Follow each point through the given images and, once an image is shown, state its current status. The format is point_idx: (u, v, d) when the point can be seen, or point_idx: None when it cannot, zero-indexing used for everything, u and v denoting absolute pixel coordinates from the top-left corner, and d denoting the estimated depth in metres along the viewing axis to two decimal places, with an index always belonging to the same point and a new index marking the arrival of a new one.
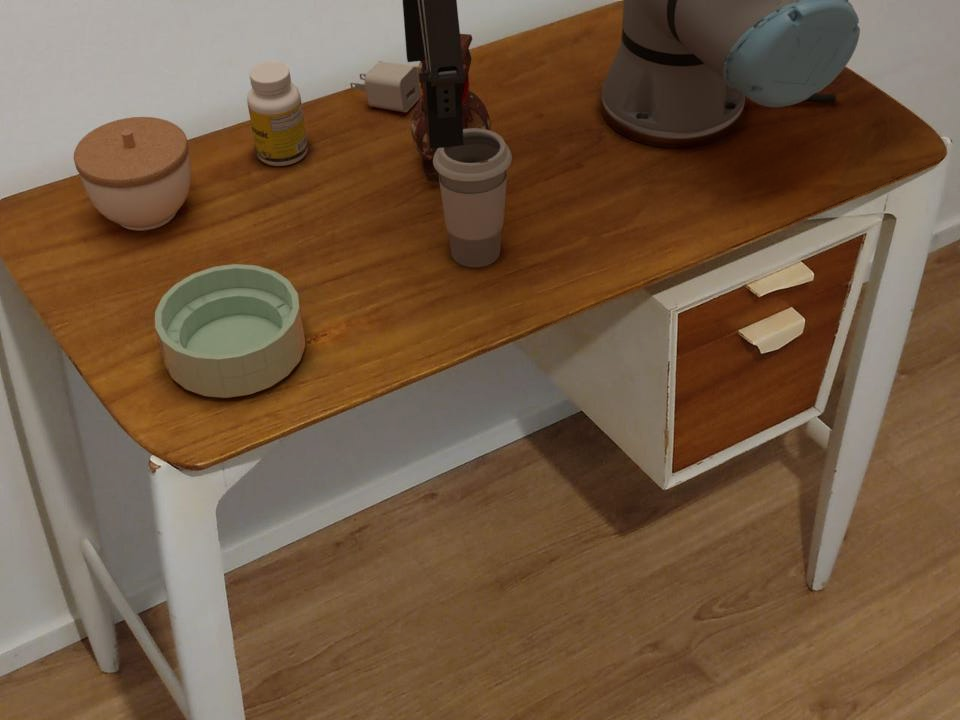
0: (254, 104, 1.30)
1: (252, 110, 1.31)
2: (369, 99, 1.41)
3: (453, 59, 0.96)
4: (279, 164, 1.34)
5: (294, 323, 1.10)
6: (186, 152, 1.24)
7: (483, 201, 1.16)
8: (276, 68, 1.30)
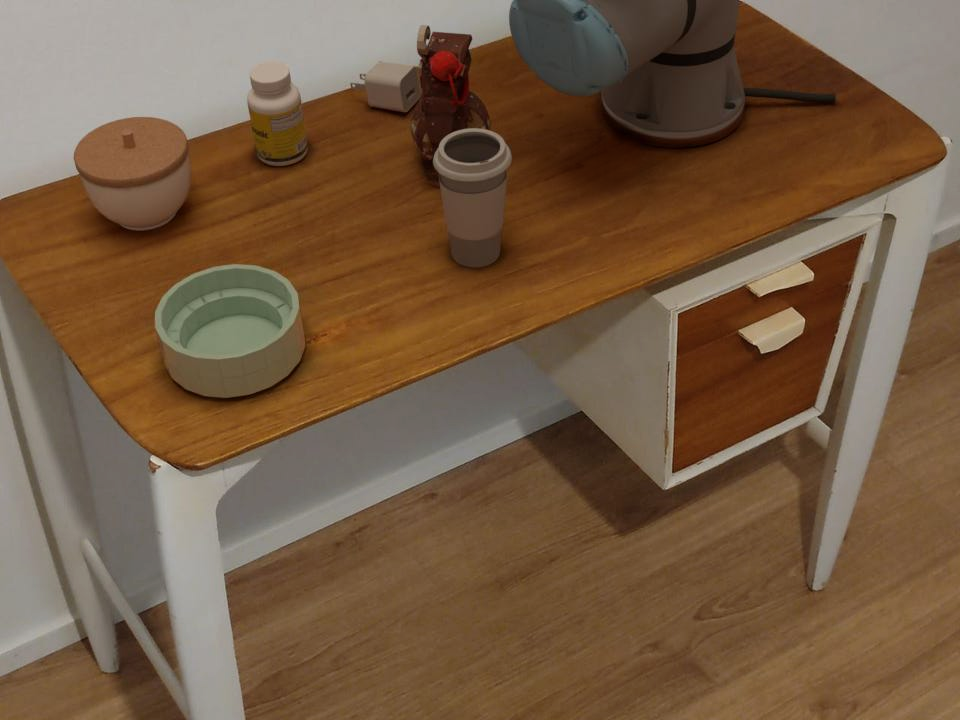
0: (254, 104, 1.30)
1: (252, 110, 1.31)
2: (369, 99, 1.41)
3: None
4: (279, 164, 1.34)
5: (294, 323, 1.10)
6: (186, 152, 1.24)
7: (483, 201, 1.16)
8: (276, 68, 1.30)
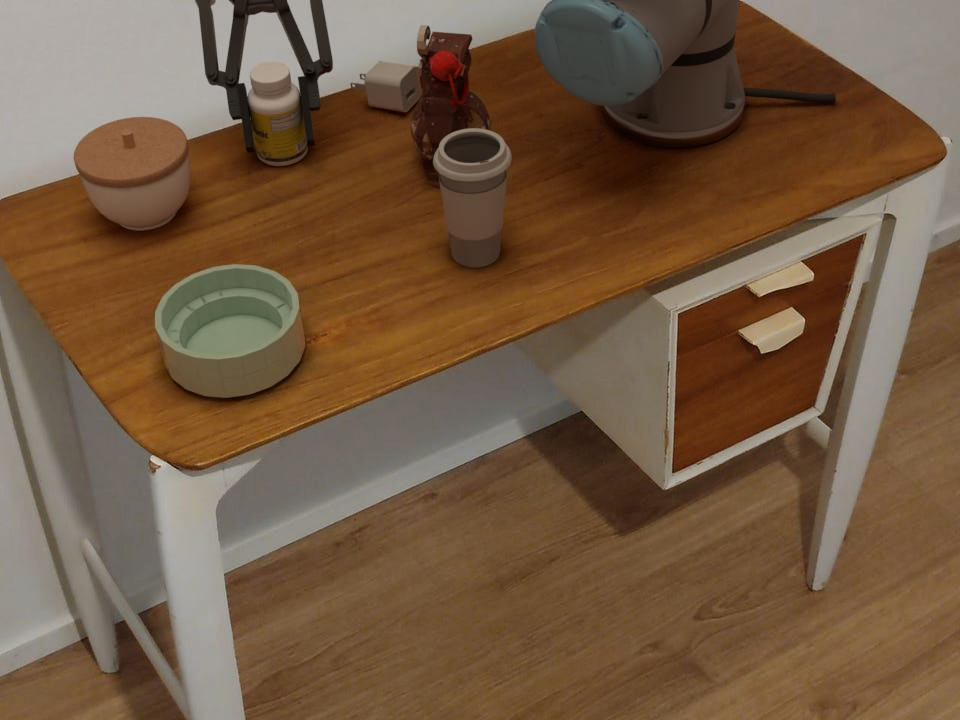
0: (254, 104, 1.30)
1: (252, 110, 1.31)
2: (369, 99, 1.41)
3: None
4: (279, 164, 1.34)
5: (294, 323, 1.10)
6: (186, 152, 1.24)
7: (483, 201, 1.16)
8: (276, 68, 1.30)
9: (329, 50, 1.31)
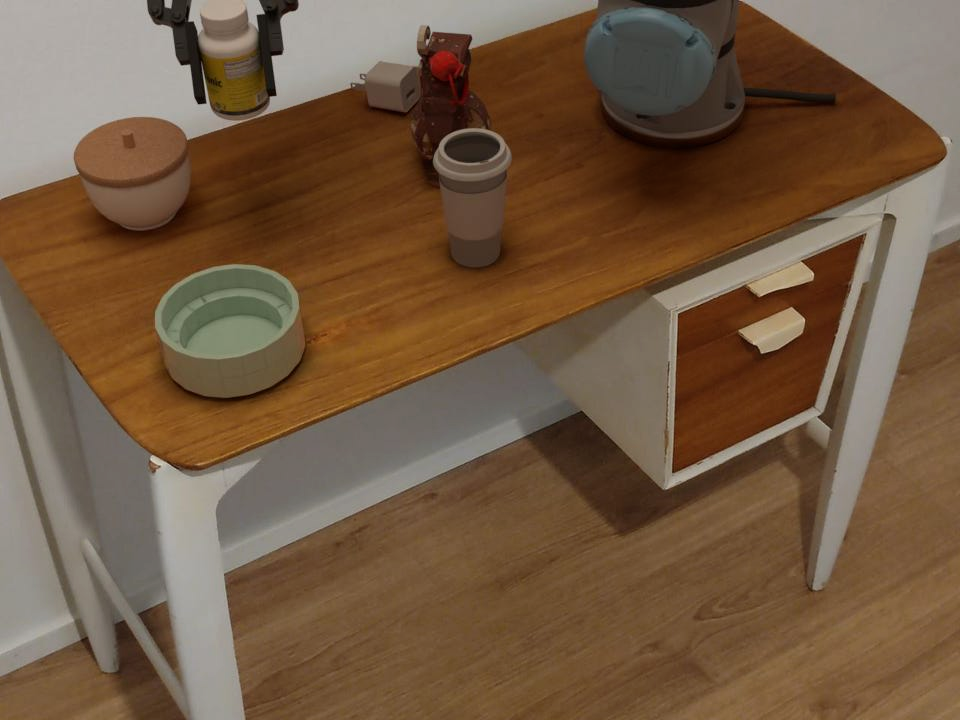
0: (205, 46, 1.11)
1: (202, 53, 1.12)
2: (369, 99, 1.41)
3: None
4: (236, 118, 1.15)
5: (294, 323, 1.10)
6: (186, 152, 1.24)
7: (483, 201, 1.16)
8: (231, 3, 1.11)
9: None
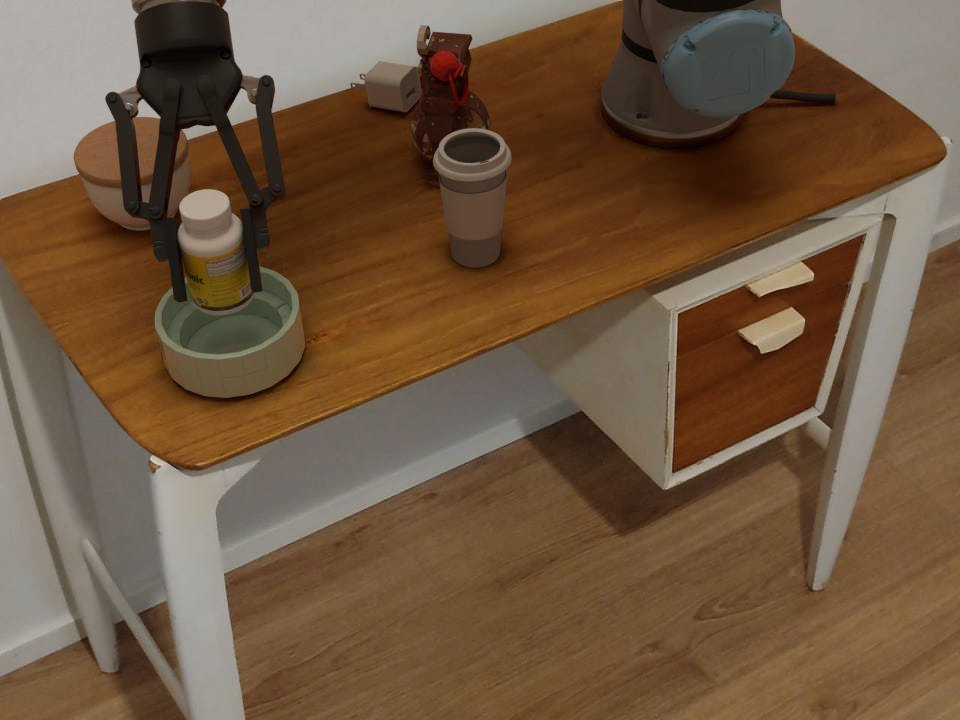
0: (185, 244, 1.04)
1: (183, 250, 1.04)
2: (369, 99, 1.41)
3: None
4: (219, 313, 1.08)
5: (294, 323, 1.10)
6: (186, 152, 1.24)
7: (483, 201, 1.16)
8: (213, 198, 1.04)
9: (280, 175, 1.05)
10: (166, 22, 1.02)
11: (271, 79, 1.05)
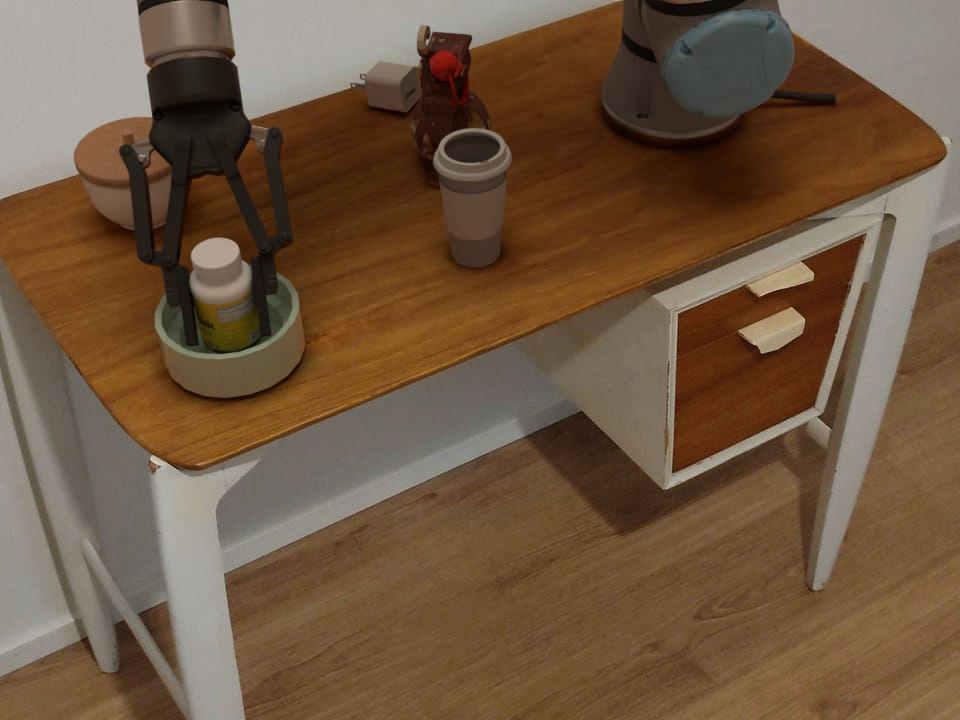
0: (196, 292, 1.07)
1: (194, 297, 1.08)
2: (369, 99, 1.41)
3: None
4: None
5: (294, 323, 1.10)
6: None
7: (483, 201, 1.16)
8: (224, 247, 1.07)
9: (288, 223, 1.08)
10: (178, 77, 1.05)
11: (279, 130, 1.08)
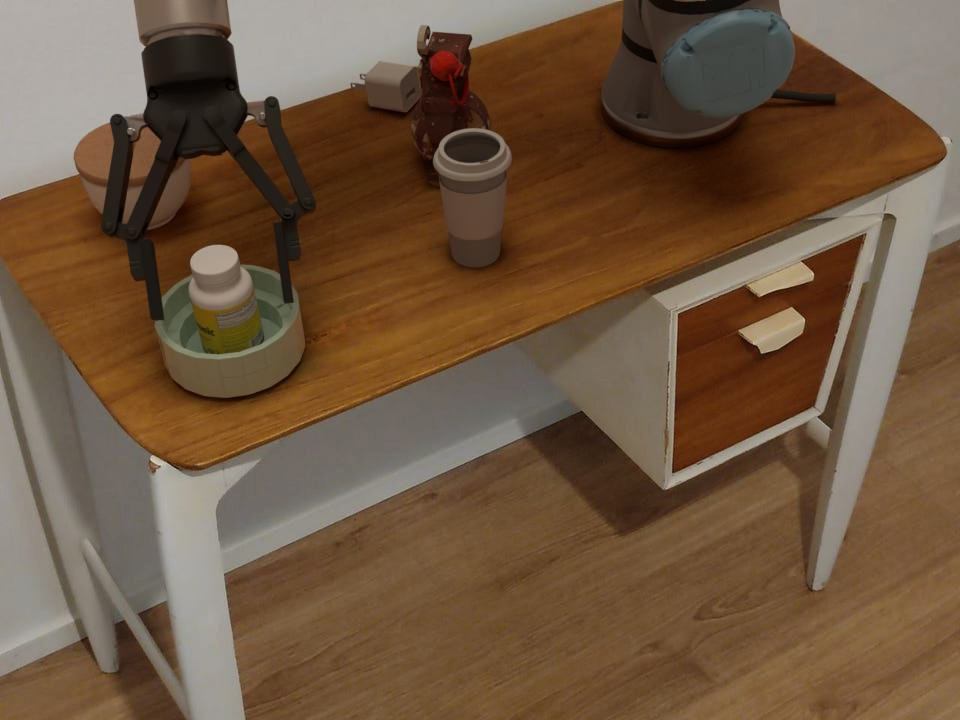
0: (196, 298, 1.08)
1: (194, 304, 1.08)
2: (369, 99, 1.41)
3: None
4: None
5: (294, 323, 1.10)
6: None
7: (483, 201, 1.16)
8: (223, 253, 1.08)
9: (308, 188, 1.07)
10: (173, 55, 1.04)
11: (275, 99, 1.07)
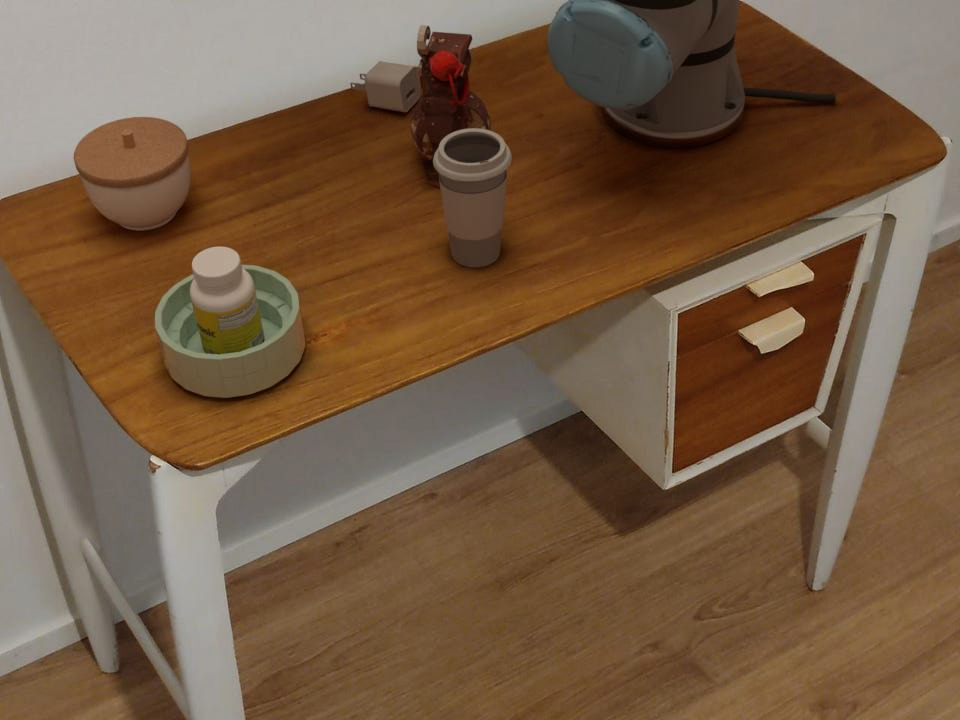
0: (197, 300, 1.08)
1: (195, 305, 1.08)
2: (369, 99, 1.41)
3: None
4: None
5: (294, 323, 1.10)
6: (186, 152, 1.24)
7: (483, 201, 1.16)
8: (224, 255, 1.08)
9: None
10: None
11: None
